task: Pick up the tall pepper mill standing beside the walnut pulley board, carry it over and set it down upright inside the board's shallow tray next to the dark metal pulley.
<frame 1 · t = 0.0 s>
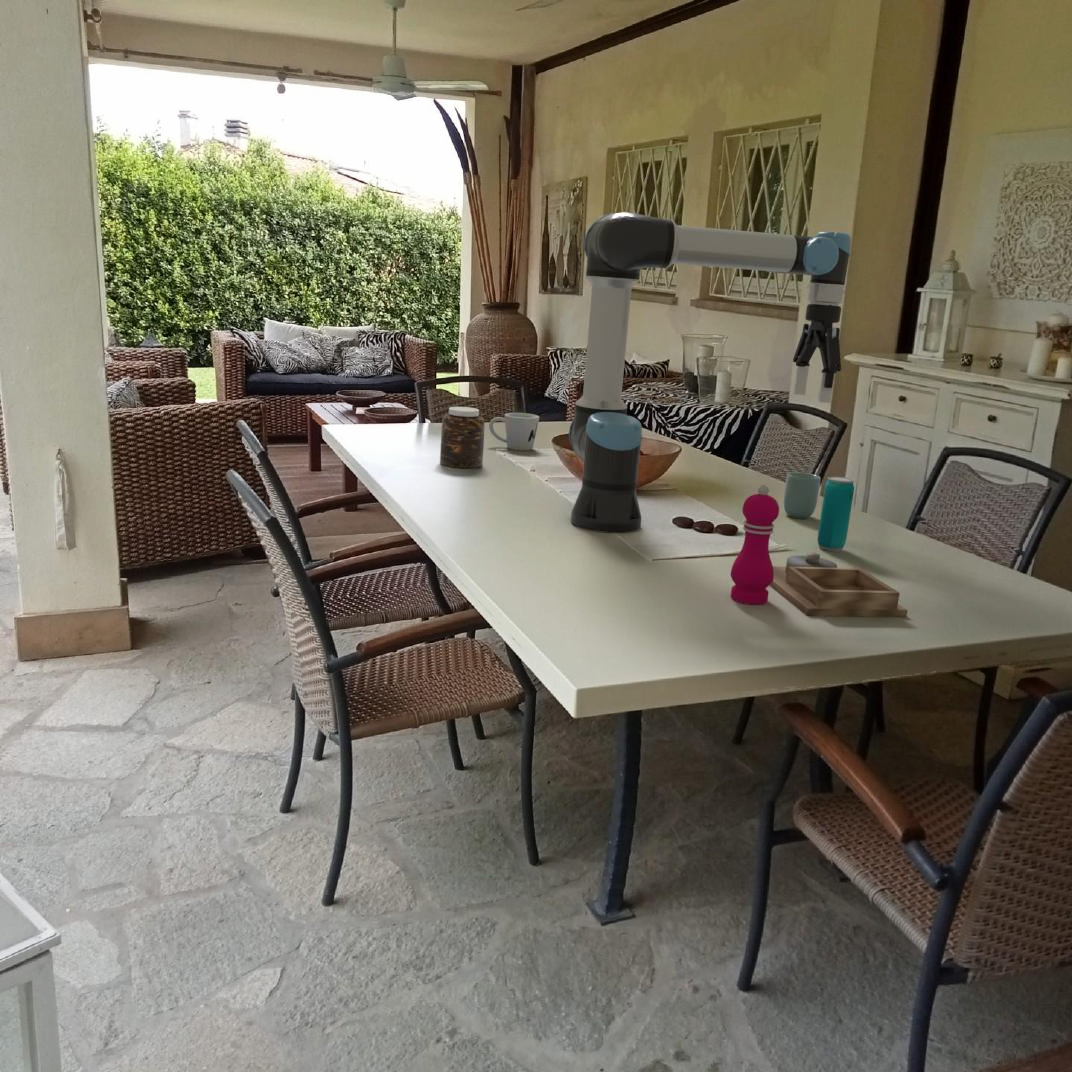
hand: (811, 398, 229), 28 cm above the table, fingers open, 13 cm apart
pepper mill: (748, 600, 171), on the table
cup: (797, 517, 236), on the table
pulley board: (825, 593, 178), on the table
mug: (512, 448, 300), on the table
jar: (461, 465, 269), on the table
beverage can: (830, 549, 209), on the table
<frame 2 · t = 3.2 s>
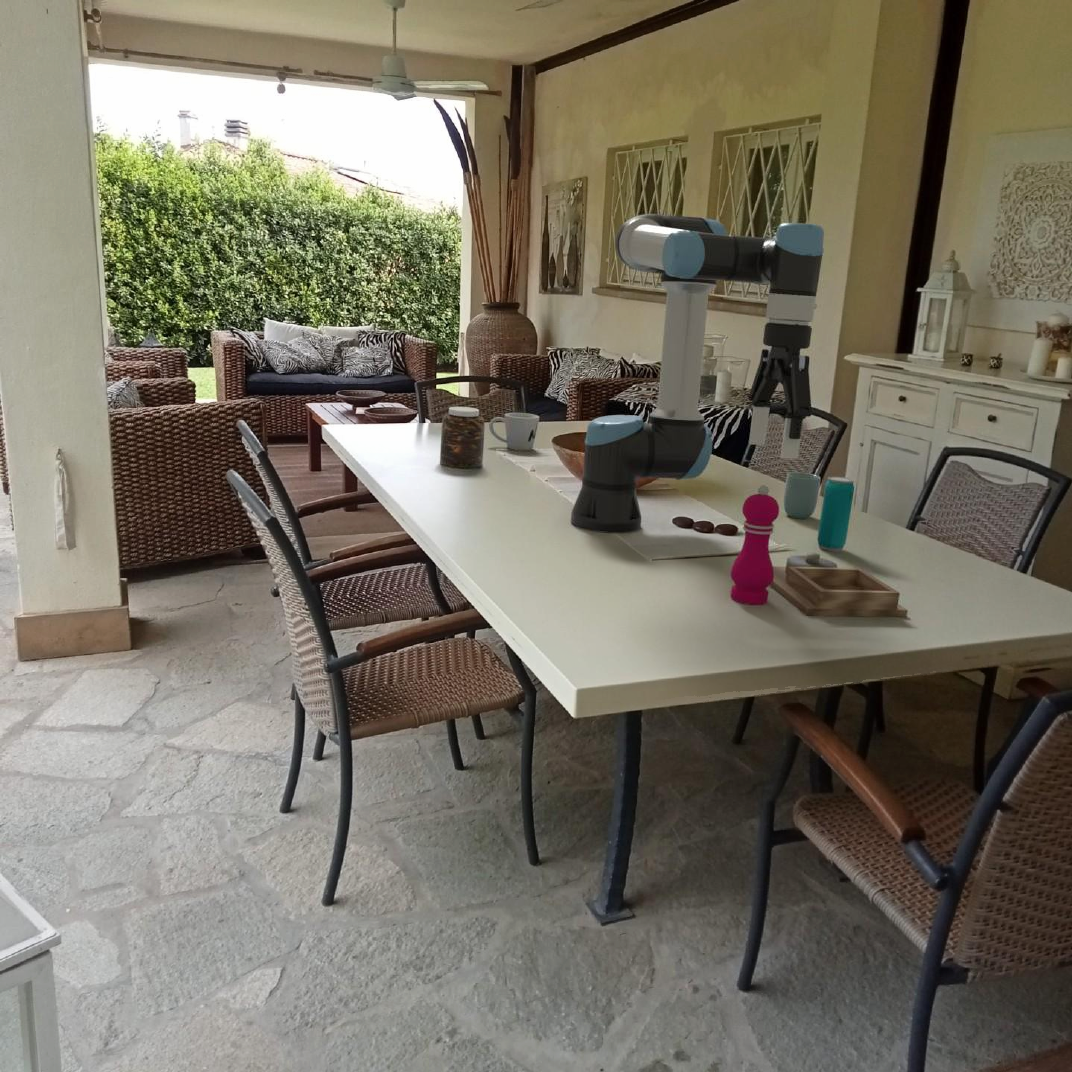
hand: (772, 451, 168), 25 cm above the table, fingers open, 13 cm apart
nothing on the table moved.
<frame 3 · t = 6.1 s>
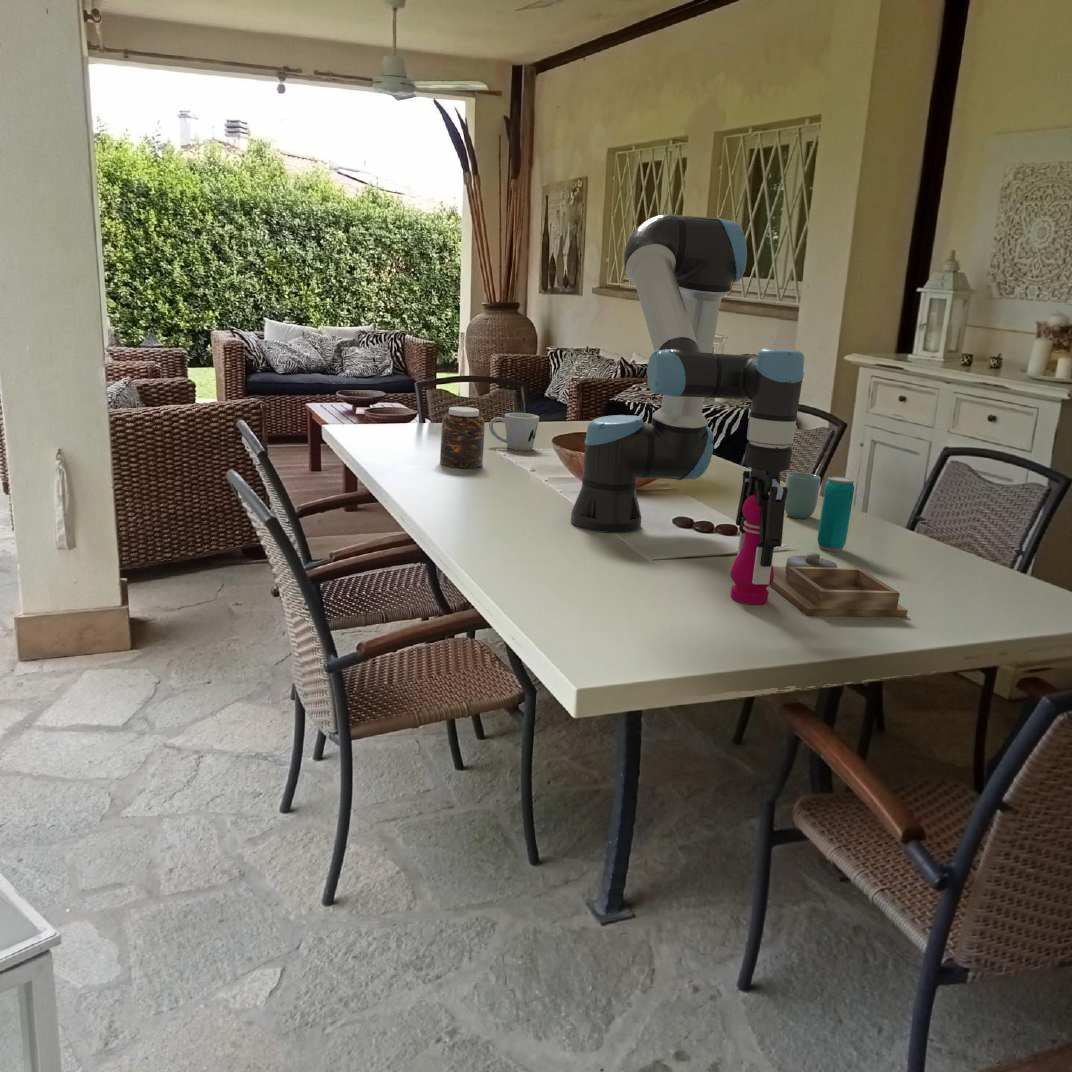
hand: (751, 576, 170), 4 cm above the table, fingers closed on pepper mill, 7 cm apart
pepper mill: (748, 600, 171), on the table, touching gripper
everything else where it was.
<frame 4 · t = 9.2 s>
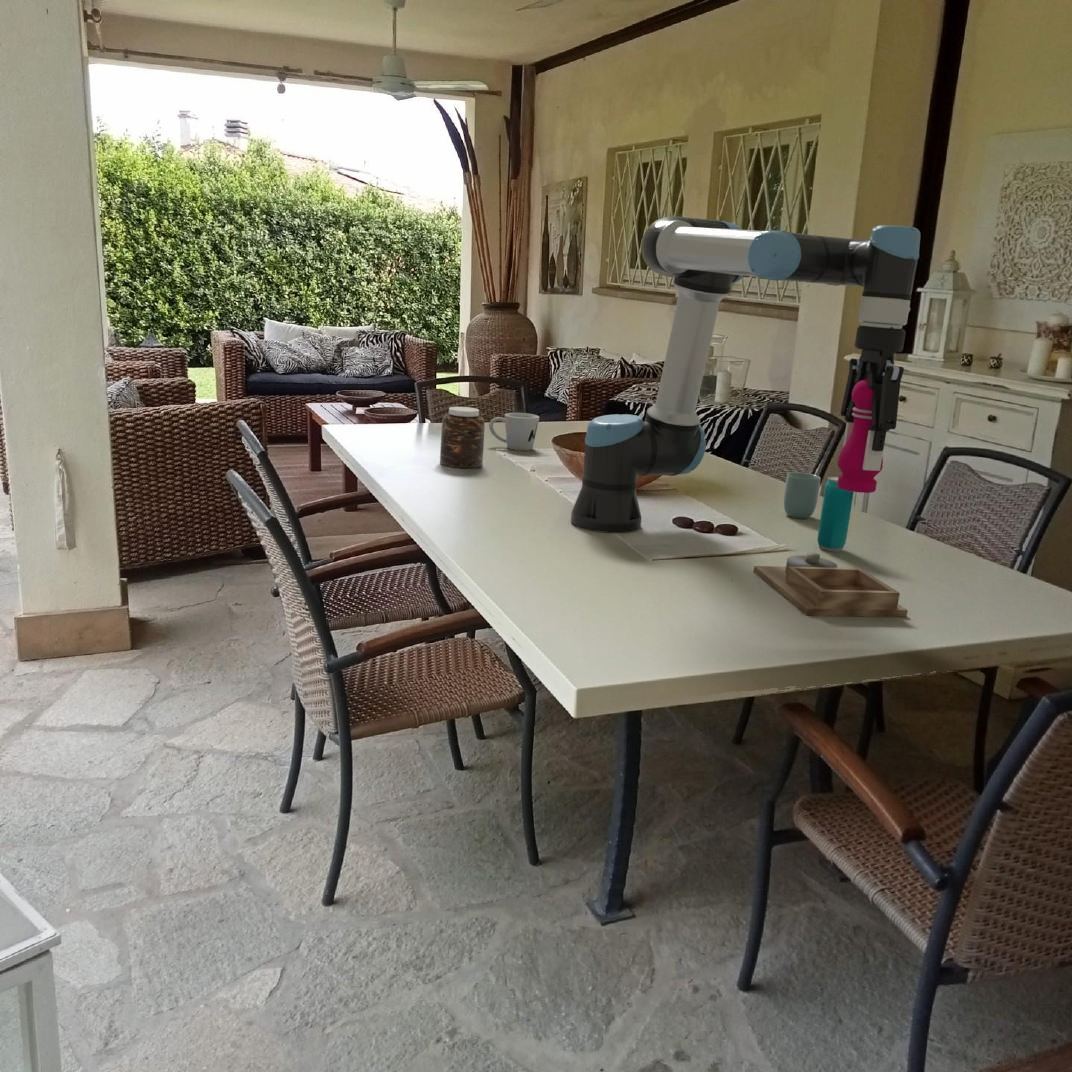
hand: (859, 465, 167), 24 cm above the table, fingers closed on pepper mill, 7 cm apart
pepper mill: (855, 490, 168), point 20 cm above the table, touching gripper
everything else where it was.
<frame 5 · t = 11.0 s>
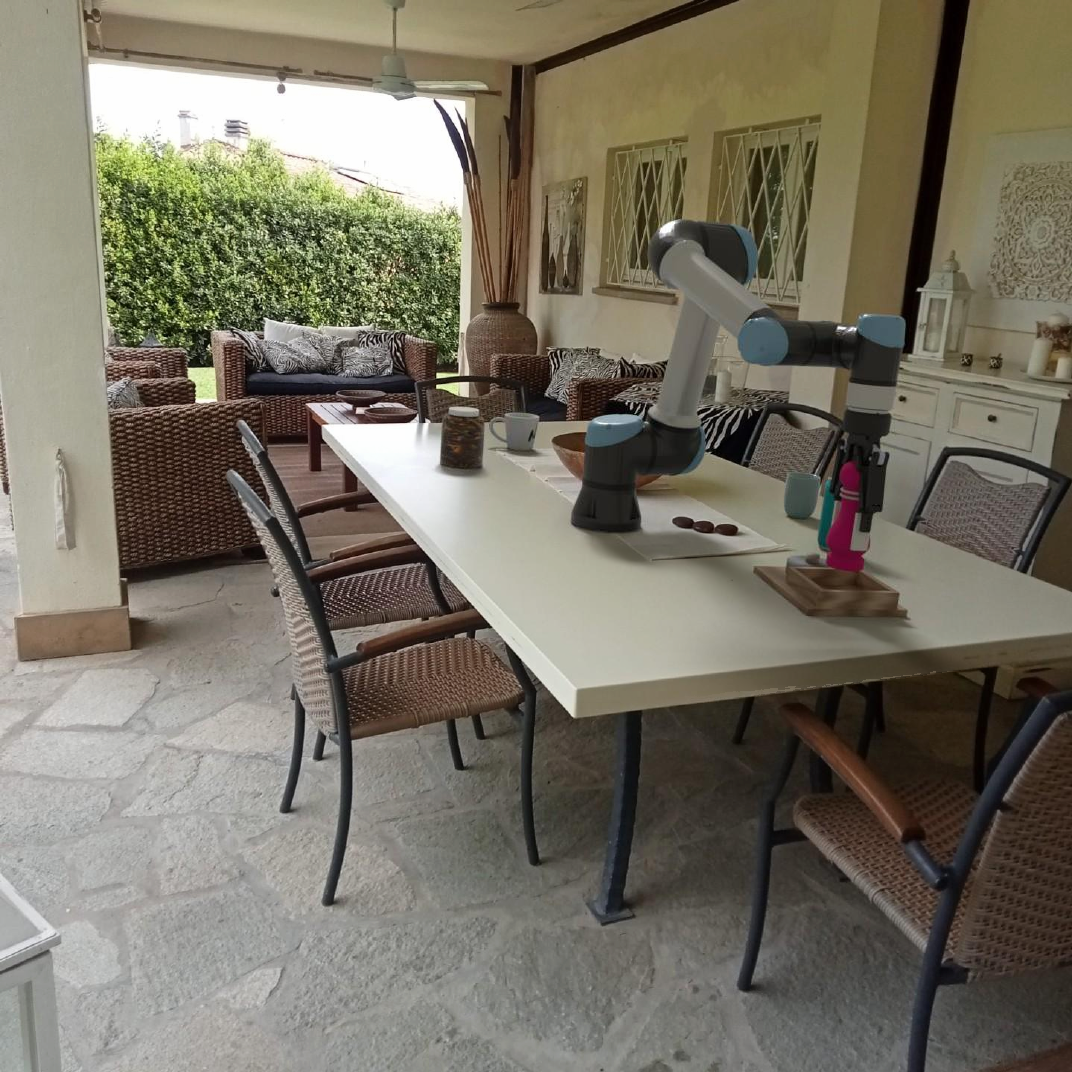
hand: (847, 543, 170), 11 cm above the table, fingers closed on pepper mill, 7 cm apart
pepper mill: (844, 567, 171), point 6 cm above the table, touching gripper
everything else where it was.
when the fingers open (7 cm above the table, at t = 12.1 s): pepper mill drops 2 cm, resting on pulley board.
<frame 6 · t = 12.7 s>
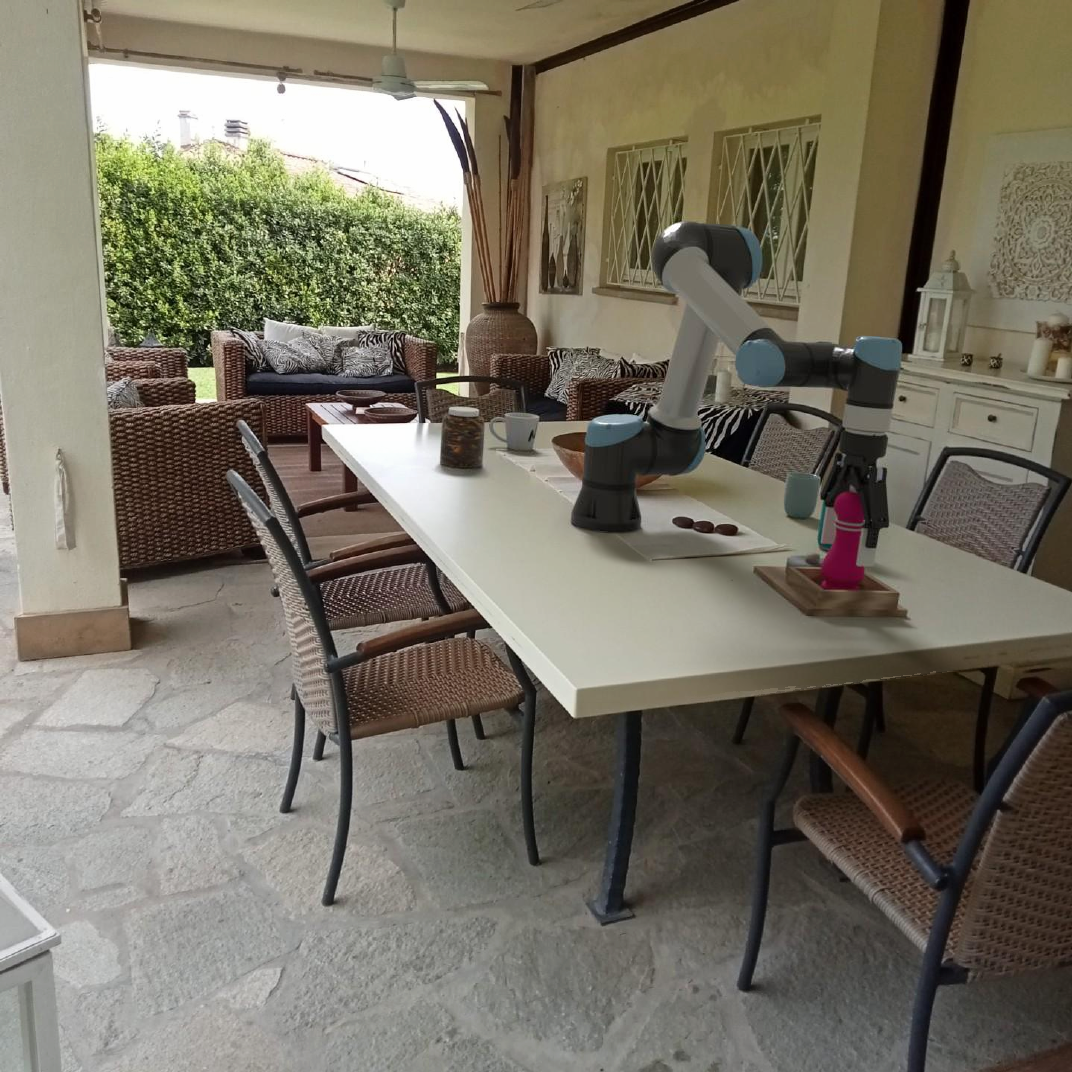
hand: (845, 554, 171), 9 cm above the table, fingers open, 13 cm apart
pepper mill: (838, 596, 173), point 1 cm above the table, touching pulley board
everything else where it was.
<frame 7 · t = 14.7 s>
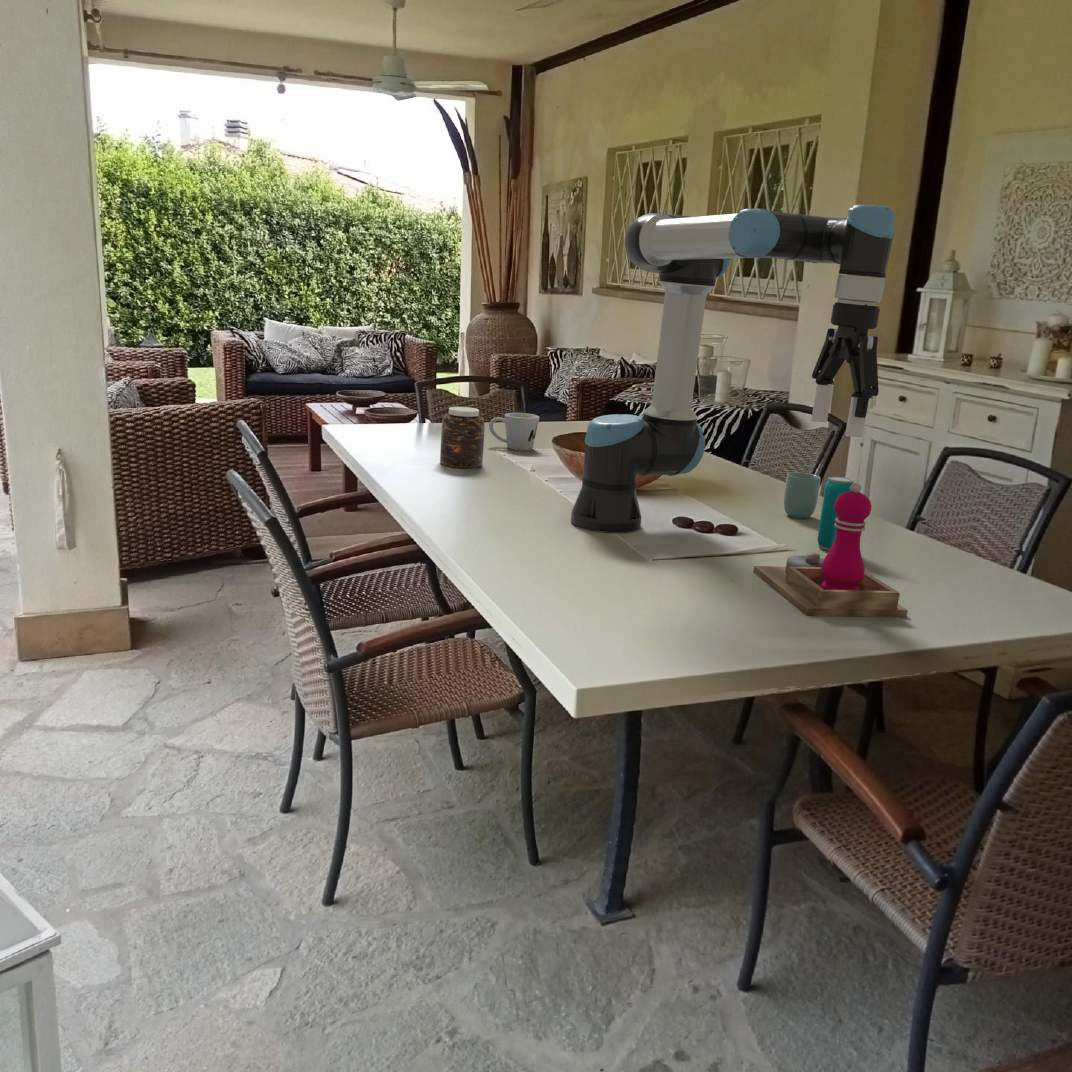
hand: (835, 428, 172), 29 cm above the table, fingers open, 13 cm apart
nothing on the table moved.
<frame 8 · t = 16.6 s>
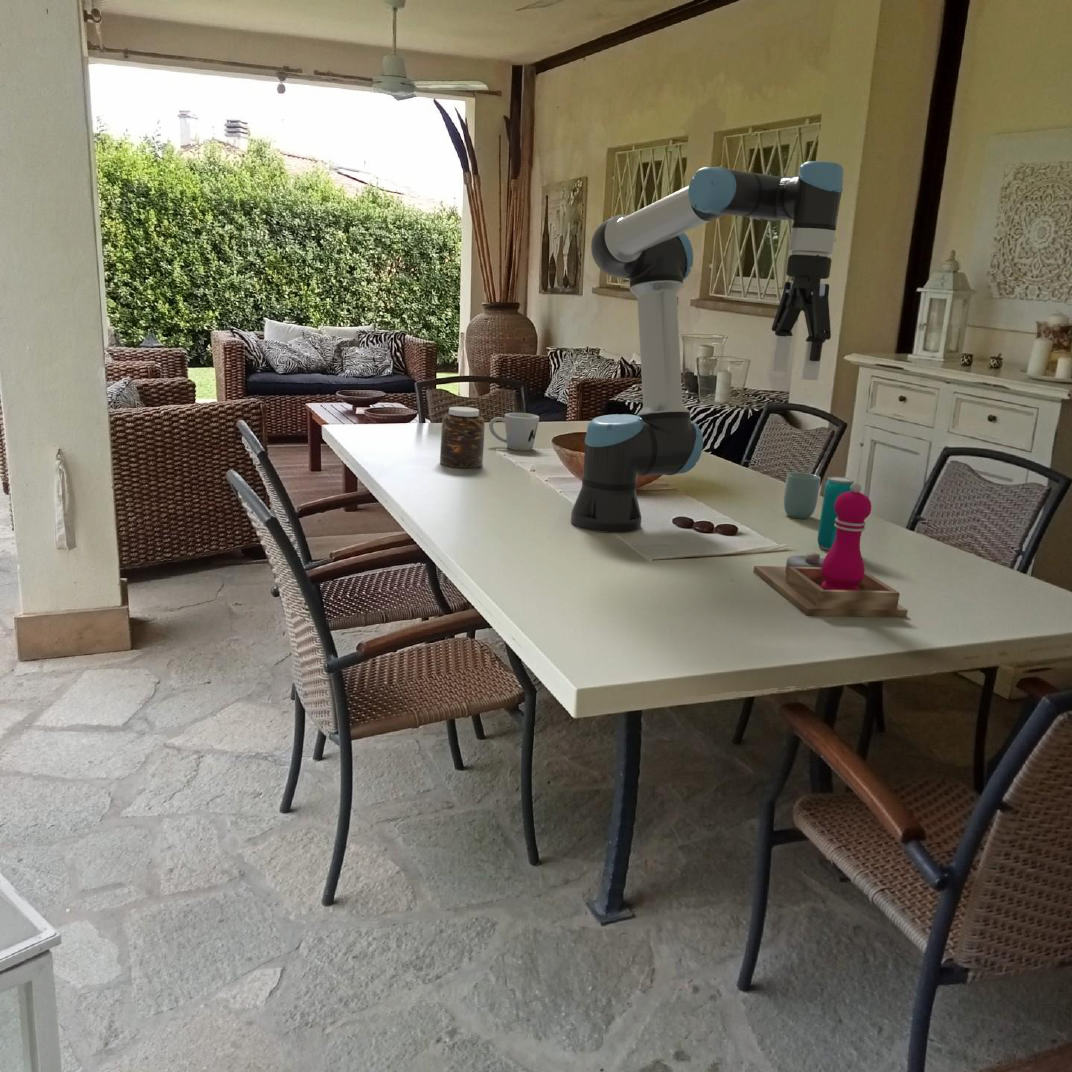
hand: (793, 375, 182), 37 cm above the table, fingers open, 13 cm apart
nothing on the table moved.
at the end: pepper mill inside the target area on the pulley board (0.1 cm from its centre), point 1.0 cm above the pulley board's base; pepper mill tilted 0°; the gripper is holding nothing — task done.
